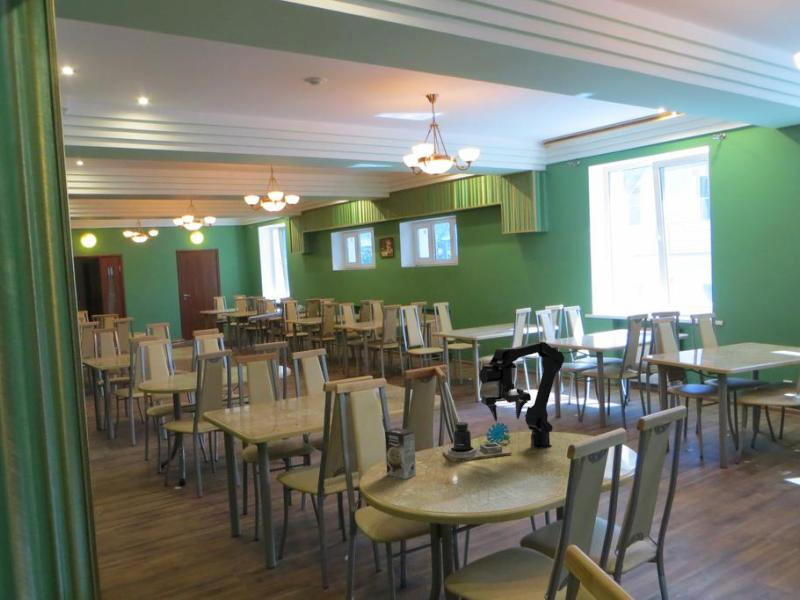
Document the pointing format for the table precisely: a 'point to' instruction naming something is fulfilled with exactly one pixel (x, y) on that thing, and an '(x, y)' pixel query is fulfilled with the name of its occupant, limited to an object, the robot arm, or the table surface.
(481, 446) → the socket board
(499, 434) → the gear
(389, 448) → the coffee box
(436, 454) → the table surface
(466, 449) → the supplement bottle
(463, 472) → the table surface
